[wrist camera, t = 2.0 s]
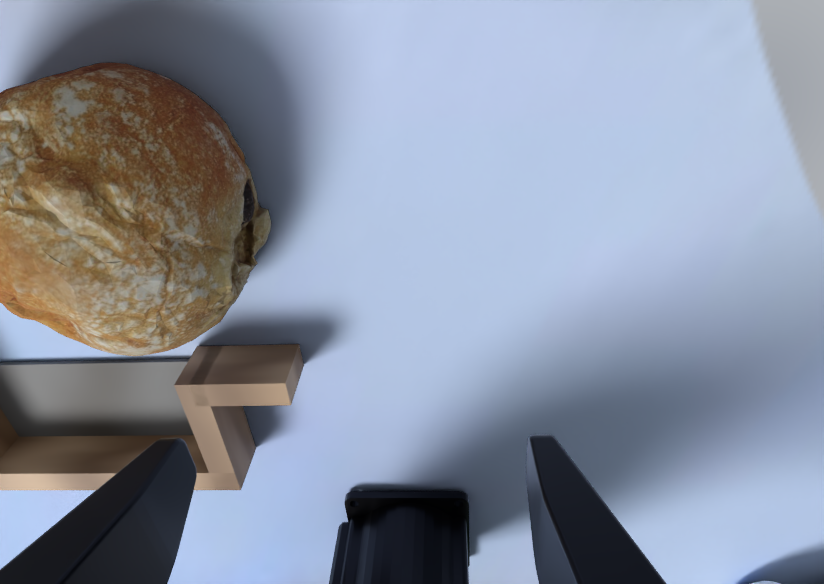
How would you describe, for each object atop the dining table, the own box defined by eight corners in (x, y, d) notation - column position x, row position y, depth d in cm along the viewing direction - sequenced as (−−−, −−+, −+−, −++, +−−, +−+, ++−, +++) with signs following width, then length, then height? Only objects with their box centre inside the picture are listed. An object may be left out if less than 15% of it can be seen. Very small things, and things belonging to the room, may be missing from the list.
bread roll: (272, 261, 26) (312, 358, 20) (31, 323, 23) (-12, 459, 17) (215, 34, 21) (246, 67, 14) (-107, 77, 18) (-245, 142, 12)
